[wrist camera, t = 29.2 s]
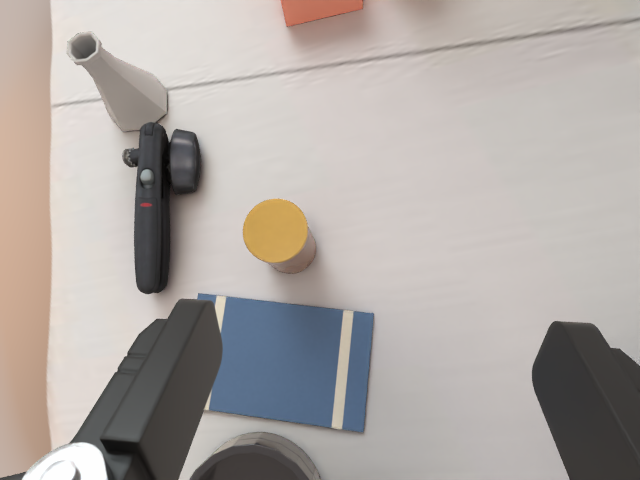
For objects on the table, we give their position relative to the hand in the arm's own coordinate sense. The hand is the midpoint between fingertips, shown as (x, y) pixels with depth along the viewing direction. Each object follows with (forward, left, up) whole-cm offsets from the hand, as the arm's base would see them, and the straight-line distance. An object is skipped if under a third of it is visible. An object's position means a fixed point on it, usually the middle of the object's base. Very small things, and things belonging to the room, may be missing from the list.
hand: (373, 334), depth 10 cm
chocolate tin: (+10, 0, -31) cm, 32 cm away
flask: (+35, +2, -31) cm, 47 cm away
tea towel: (+3, +8, -31) cm, 32 cm away
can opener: (+22, +7, -31) cm, 39 cm away
